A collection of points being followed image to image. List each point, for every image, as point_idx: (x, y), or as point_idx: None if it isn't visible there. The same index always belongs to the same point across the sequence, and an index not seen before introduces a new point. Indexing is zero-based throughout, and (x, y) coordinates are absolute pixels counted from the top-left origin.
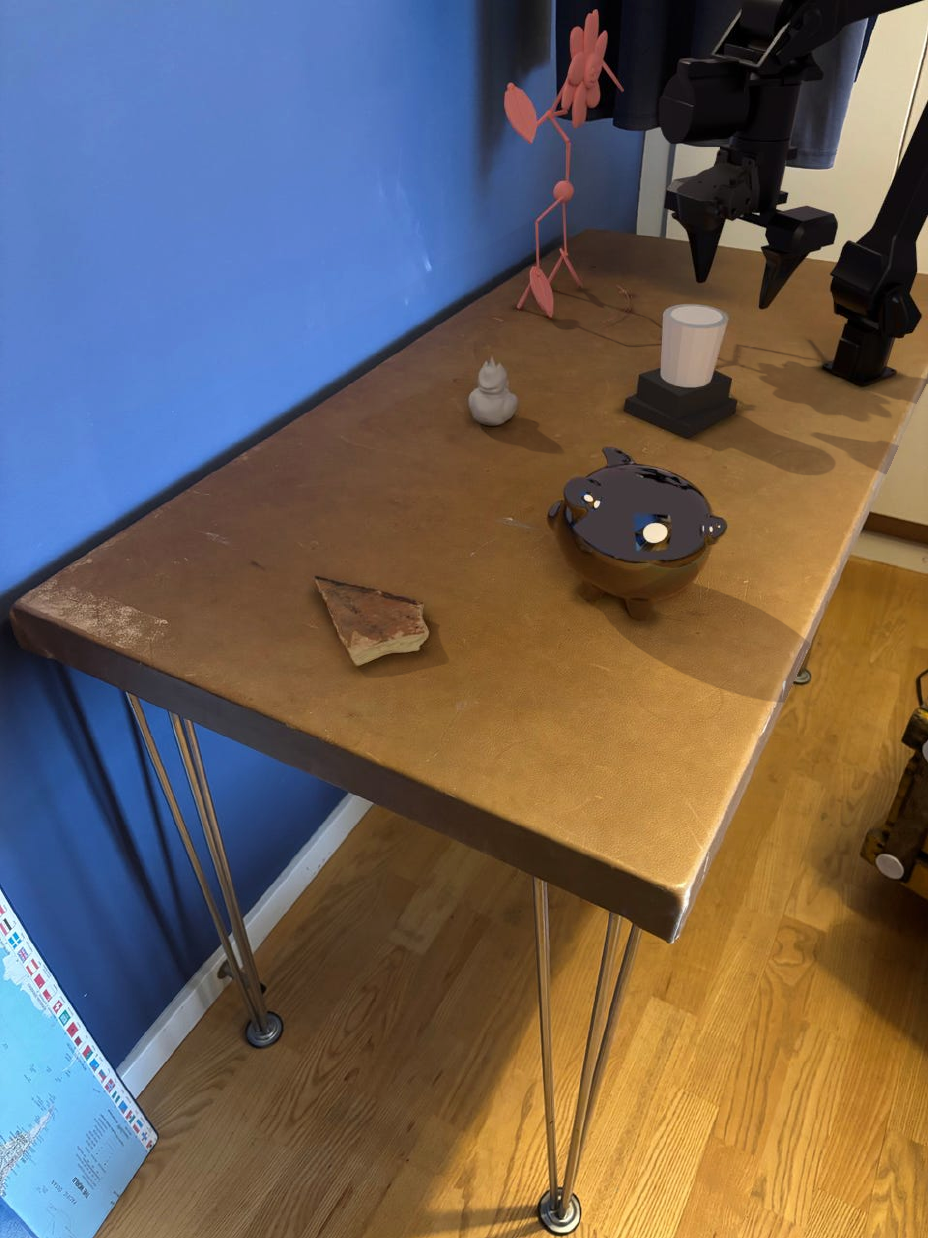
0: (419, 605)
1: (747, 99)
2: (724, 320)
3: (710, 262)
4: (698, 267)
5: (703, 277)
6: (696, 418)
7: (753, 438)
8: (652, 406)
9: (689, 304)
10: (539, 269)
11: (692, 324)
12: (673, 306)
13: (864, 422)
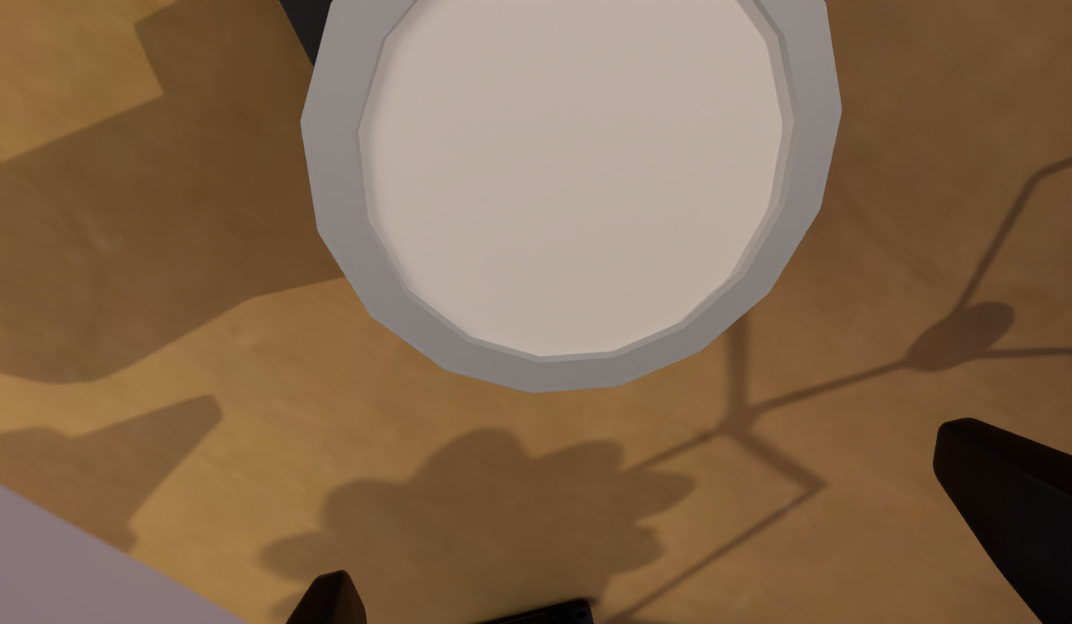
0: None
1: None
2: (405, 318)
3: (1038, 595)
4: (1054, 485)
5: (961, 474)
6: (315, 22)
7: (220, 213)
8: None
9: (783, 237)
10: None
11: (393, 7)
12: (824, 95)
13: (255, 555)
